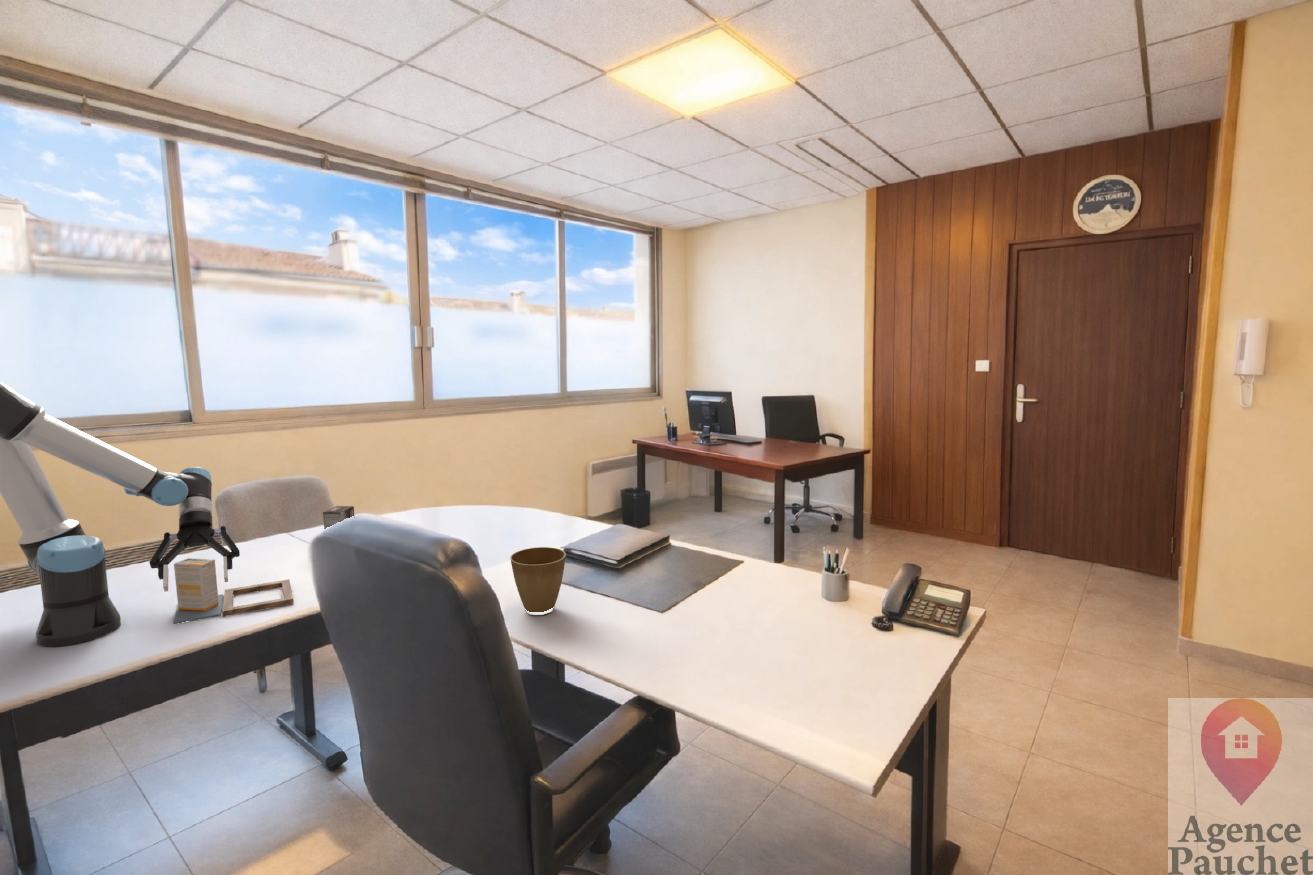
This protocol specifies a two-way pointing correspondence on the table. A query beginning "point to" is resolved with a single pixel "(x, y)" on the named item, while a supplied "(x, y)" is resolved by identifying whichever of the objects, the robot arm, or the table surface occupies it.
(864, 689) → the table surface
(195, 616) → the mat
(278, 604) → the holder
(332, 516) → the coffee box
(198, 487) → the robot arm
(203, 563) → the supplement box
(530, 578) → the plant pot
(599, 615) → the table surface
